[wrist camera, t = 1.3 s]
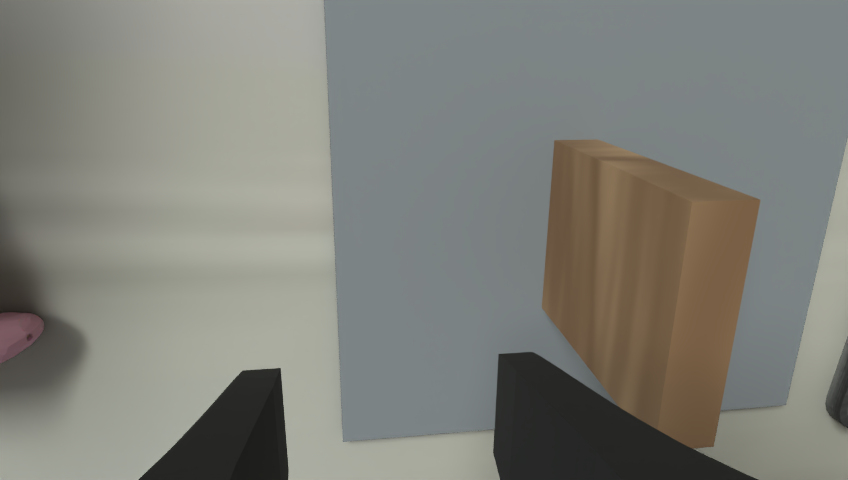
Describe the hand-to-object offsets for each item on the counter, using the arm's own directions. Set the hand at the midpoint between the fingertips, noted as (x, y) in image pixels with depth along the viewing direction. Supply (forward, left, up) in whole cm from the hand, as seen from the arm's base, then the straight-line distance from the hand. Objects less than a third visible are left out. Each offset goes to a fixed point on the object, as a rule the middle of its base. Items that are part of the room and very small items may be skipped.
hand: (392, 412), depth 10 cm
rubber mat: (+8, 0, -10) cm, 13 cm away
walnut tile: (+7, 0, -10) cm, 12 cm away
